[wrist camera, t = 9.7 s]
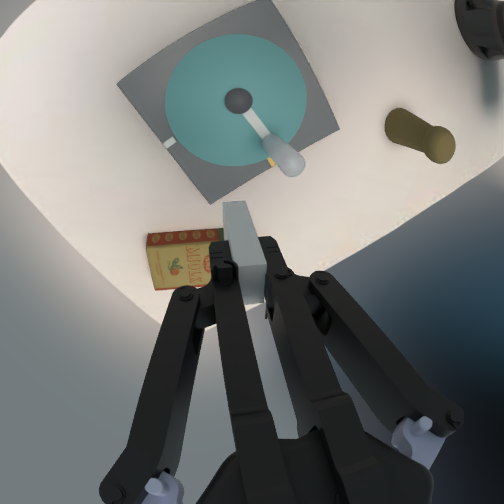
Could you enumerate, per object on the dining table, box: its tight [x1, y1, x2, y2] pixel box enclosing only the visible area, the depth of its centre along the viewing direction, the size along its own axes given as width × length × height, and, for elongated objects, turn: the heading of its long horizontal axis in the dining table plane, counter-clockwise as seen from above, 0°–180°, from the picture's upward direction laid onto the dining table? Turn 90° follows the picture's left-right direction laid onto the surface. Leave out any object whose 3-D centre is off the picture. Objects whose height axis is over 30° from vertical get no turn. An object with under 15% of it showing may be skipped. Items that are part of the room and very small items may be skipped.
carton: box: [146, 228, 224, 291], centre depth 42 cm, size 8×16×4 cm, turn 87°
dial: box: [165, 34, 307, 177], centre depth 25 cm, size 16×16×10 cm
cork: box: [385, 108, 455, 164], centre depth 31 cm, size 6×6×11 cm
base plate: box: [117, 0, 340, 205], centre depth 29 cm, size 20×20×2 cm
